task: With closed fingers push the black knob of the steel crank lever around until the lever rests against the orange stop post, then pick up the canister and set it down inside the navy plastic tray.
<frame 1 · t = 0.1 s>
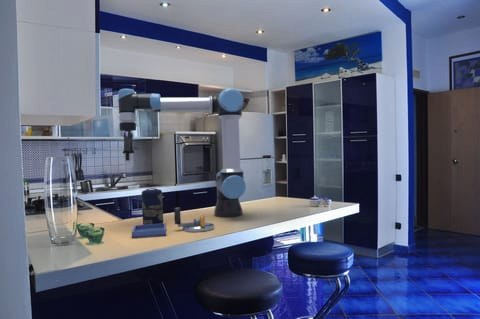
hand: (129, 167, 176), 28 cm above the breakfast bar, fingers open, 13 cm apart
crank base: (198, 228, 165), on the breakfast bar
crank: (188, 216, 164), point 6 cm above the breakfast bar, hinge at 0.0°
tray: (149, 233, 159), on the breakfast bar
canister: (153, 226, 175), on the breakfast bar
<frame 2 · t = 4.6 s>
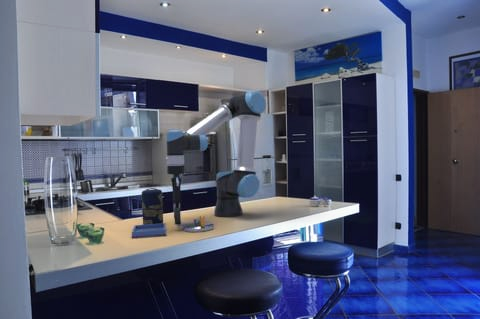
hand: (177, 217, 166), 5 cm above the breakfast bar, fingers closed
crank: (188, 216, 164), point 6 cm above the breakfast bar, hinge at 3.2°, touching gripper
everything else where it was.
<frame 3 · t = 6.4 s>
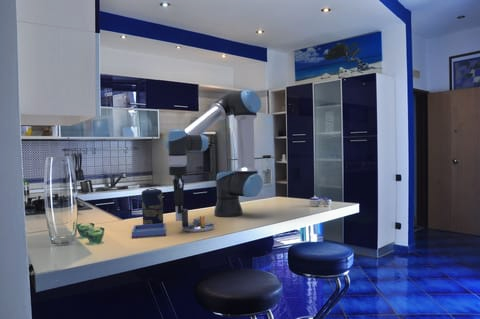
hand: (179, 220, 159), 5 cm above the breakfast bar, fingers closed
crank: (192, 217, 162), point 6 cm above the breakfast bar, hinge at 47.3°, touching gripper
everything else where it was.
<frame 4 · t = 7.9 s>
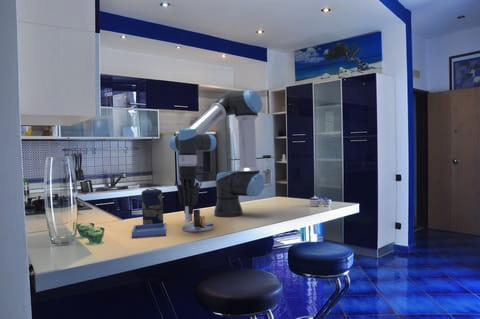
hand: (188, 221, 156), 5 cm above the breakfast bar, fingers closed
crank: (197, 217, 161), point 6 cm above the breakfast bar, hinge at 82.0°, touching crank base, gripper
everything else where it was.
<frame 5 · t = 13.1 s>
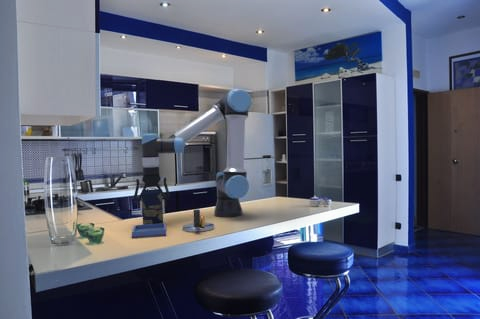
hand: (152, 214, 175), 6 cm above the breakfast bar, fingers closed on canister, 9 cm apart
crank: (197, 217, 161), point 6 cm above the breakfast bar, hinge at 82.0°, touching crank base
canister: (153, 226, 175), on the breakfast bar, touching gripper
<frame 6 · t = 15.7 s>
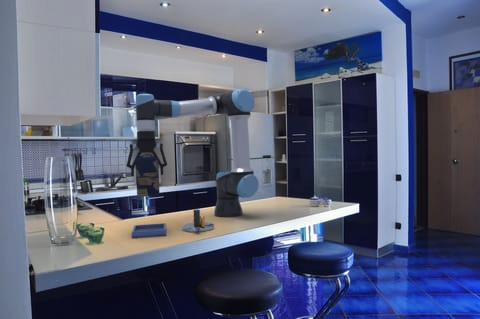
hand: (147, 183, 159), 21 cm above the breakfast bar, fingers closed on canister, 9 cm apart
canister: (148, 196, 159), point 16 cm above the breakfast bar, touching gripper
everything else where it was.
when the fingers open (8 cm above the breakfast bar, at t = 18.7 s): canister drops 1 cm, resting on tray.
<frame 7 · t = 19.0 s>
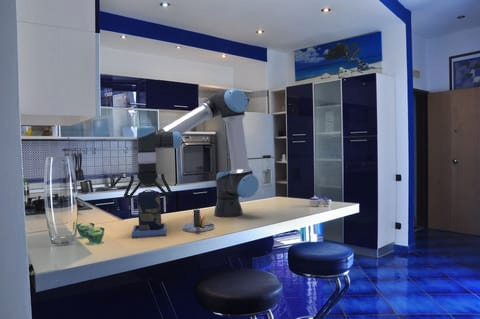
hand: (149, 212, 159), 9 cm above the breakfast bar, fingers open, 13 cm apart
canister: (150, 231, 159), point 1 cm above the breakfast bar, touching tray
everything else where it was.
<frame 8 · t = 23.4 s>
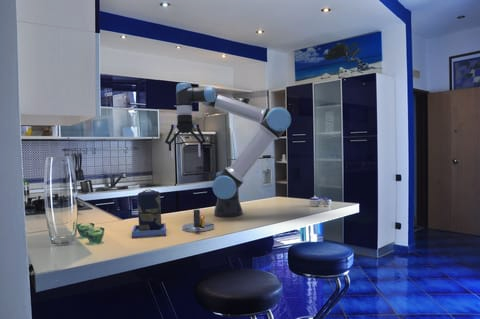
hand: (186, 157, 186), 32 cm above the breakfast bar, fingers open, 13 cm apart
nothing on the breakfast bar moved.
at the end: crank at +82° (first picture: +0°); canister inside the target area on the tray (0.3 cm from its centre), point 0.6 cm above the tray's base; canister tilted 0° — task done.
